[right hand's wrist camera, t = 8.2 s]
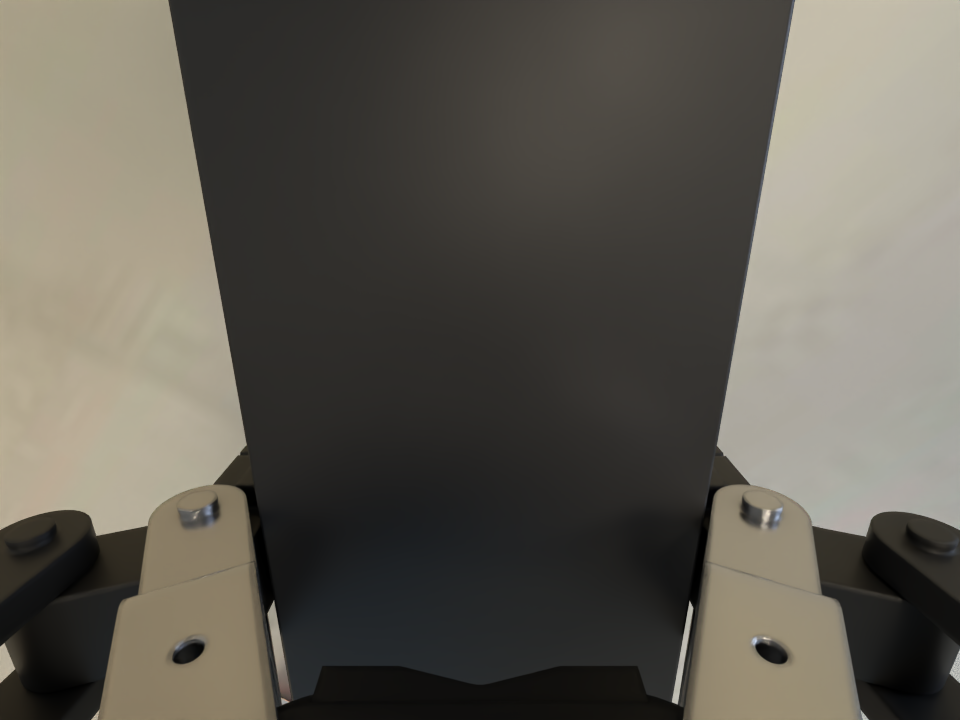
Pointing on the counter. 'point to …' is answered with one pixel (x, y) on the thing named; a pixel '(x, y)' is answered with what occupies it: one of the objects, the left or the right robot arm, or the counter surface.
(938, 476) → the counter surface
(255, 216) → the box
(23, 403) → the counter surface
